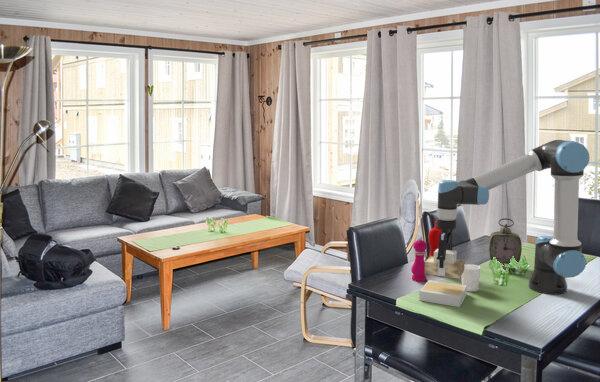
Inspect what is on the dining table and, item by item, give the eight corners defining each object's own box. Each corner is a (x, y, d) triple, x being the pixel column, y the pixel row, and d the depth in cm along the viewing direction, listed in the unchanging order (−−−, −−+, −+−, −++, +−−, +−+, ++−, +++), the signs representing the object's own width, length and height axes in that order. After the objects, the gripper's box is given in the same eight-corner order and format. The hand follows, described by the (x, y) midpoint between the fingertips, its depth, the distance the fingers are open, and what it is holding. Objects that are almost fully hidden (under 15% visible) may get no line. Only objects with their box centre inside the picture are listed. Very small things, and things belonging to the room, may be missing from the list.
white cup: (464, 284, 234) (465, 263, 232) (482, 288, 229) (483, 266, 227) (457, 289, 227) (458, 267, 226) (475, 293, 223) (476, 270, 221)
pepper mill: (427, 282, 237) (428, 239, 234) (410, 281, 238) (412, 238, 235) (426, 277, 244) (428, 235, 241) (410, 276, 245) (412, 234, 242)
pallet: (464, 272, 217) (464, 260, 216) (459, 278, 208) (460, 266, 208) (430, 267, 223) (430, 255, 223) (424, 273, 215) (424, 261, 214)
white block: (456, 260, 216) (456, 251, 215) (453, 264, 211) (454, 254, 210) (436, 257, 220) (437, 248, 219) (433, 261, 214) (433, 251, 214)
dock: (466, 294, 221) (467, 285, 220) (459, 306, 207) (460, 297, 206) (428, 288, 228) (428, 279, 228) (419, 300, 214) (419, 290, 213)
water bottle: (446, 277, 245) (448, 224, 241) (424, 272, 251) (426, 221, 247) (454, 272, 252) (456, 221, 248) (432, 268, 258) (434, 218, 255)
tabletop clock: (488, 269, 257) (491, 219, 253) (487, 264, 265) (490, 215, 262) (520, 272, 253) (523, 220, 249) (518, 266, 261) (521, 217, 258)
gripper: (443, 213, 224) (440, 263, 228) (430, 222, 204) (428, 278, 208) (461, 214, 221) (458, 266, 224) (450, 224, 201) (447, 280, 204)
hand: (444, 271), depth 216 cm, fingers closed on pallet, 10 cm apart
